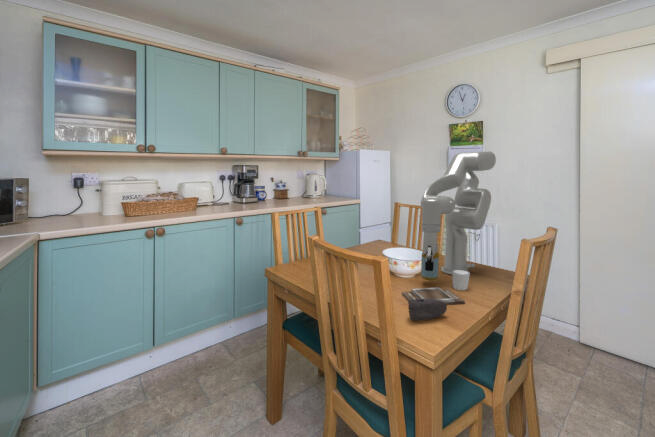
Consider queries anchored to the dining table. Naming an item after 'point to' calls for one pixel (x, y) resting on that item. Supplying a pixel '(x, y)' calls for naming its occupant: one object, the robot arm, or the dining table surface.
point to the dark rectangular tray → (434, 295)
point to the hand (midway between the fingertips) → (429, 267)
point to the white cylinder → (460, 279)
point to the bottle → (433, 274)
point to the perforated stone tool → (426, 309)
